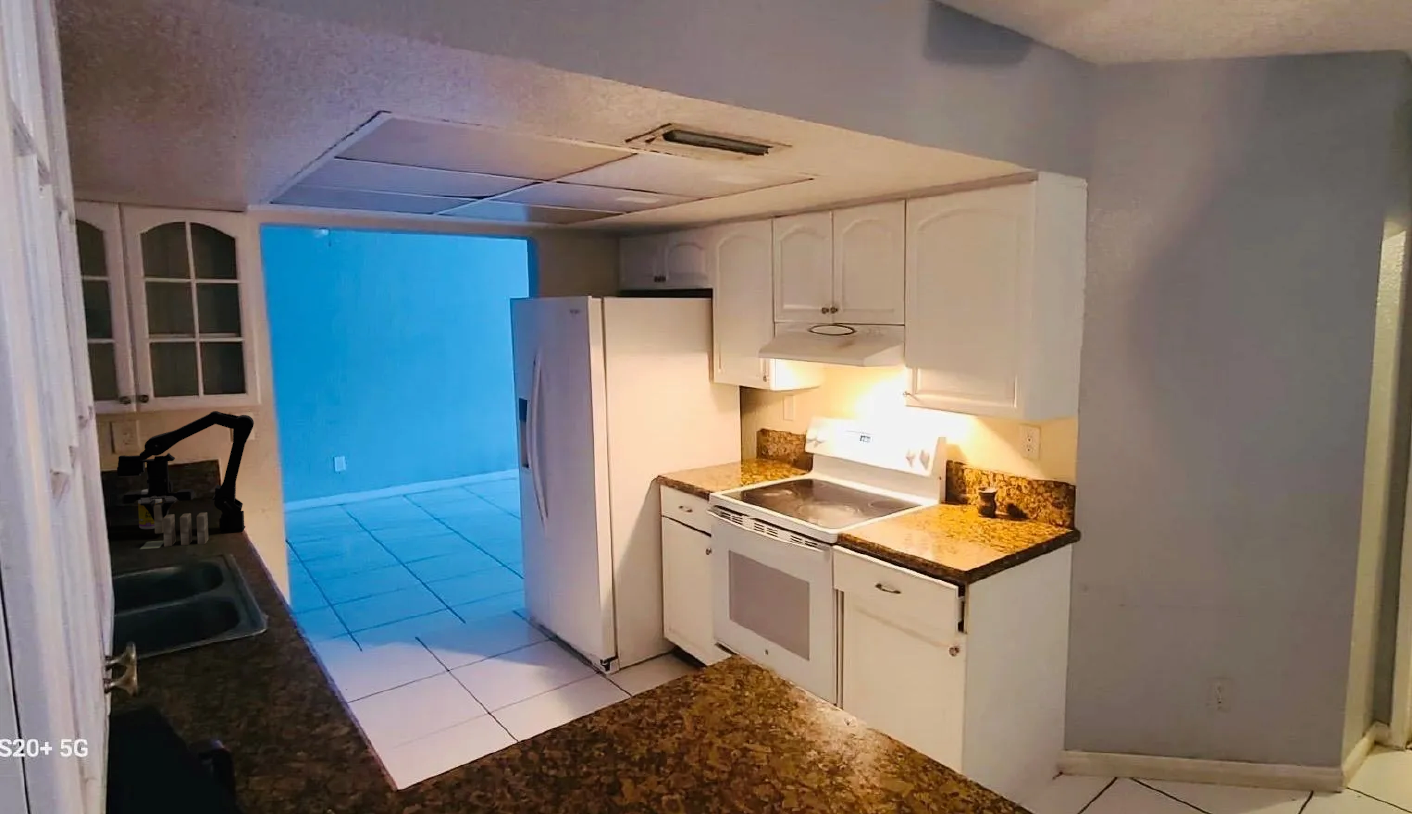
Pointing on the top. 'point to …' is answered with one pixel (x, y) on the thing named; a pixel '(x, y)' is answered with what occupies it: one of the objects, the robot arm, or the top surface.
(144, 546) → the gap pad
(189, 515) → the domino
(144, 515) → the supplement bottle
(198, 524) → the domino
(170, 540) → the domino
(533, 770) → the top surface
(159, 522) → the tile
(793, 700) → the top surface
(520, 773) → the top surface
